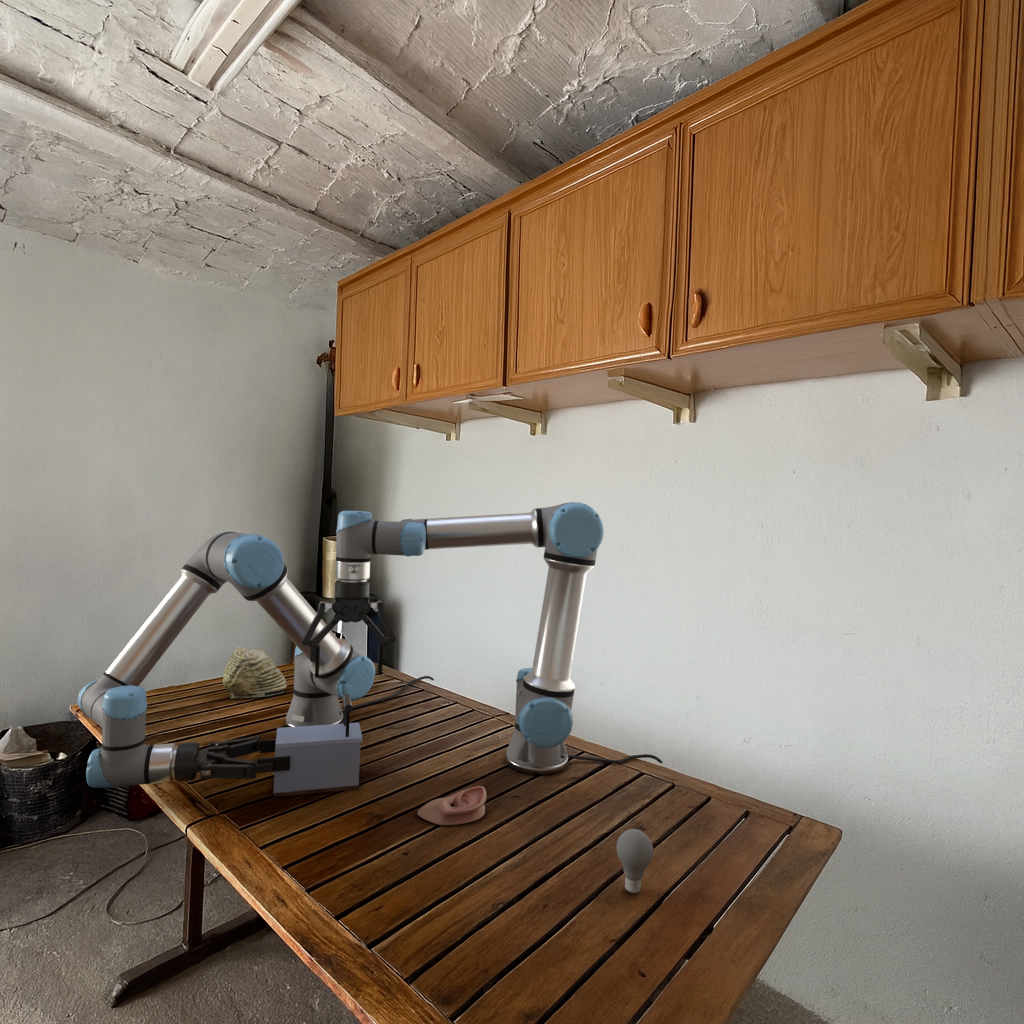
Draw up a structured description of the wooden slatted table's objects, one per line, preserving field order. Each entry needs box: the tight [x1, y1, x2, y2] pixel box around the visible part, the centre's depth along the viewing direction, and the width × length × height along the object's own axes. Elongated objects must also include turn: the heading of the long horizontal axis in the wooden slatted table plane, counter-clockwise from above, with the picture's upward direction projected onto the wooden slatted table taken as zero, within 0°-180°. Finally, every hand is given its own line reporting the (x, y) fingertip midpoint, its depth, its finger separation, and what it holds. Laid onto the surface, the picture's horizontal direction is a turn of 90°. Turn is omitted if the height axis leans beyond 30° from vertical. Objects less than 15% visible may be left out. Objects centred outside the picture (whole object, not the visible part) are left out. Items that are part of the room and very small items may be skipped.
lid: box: [275, 694, 363, 749], centre depth 140 cm, size 18×10×8 cm, turn 108°
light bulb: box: [615, 828, 654, 894], centre depth 106 cm, size 6×6×10 cm
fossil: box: [222, 646, 288, 699], centre depth 198 cm, size 9×18×15 cm, turn 132°
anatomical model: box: [416, 785, 488, 826], centre depth 129 cm, size 13×4×12 cm
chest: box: [272, 742, 361, 798], centre depth 140 cm, size 17×10×10 cm, turn 108°
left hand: (290, 753), depth 138 cm, fingers closed on chest, 10 cm apart
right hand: (348, 675), depth 141 cm, fingers open, 13 cm apart
